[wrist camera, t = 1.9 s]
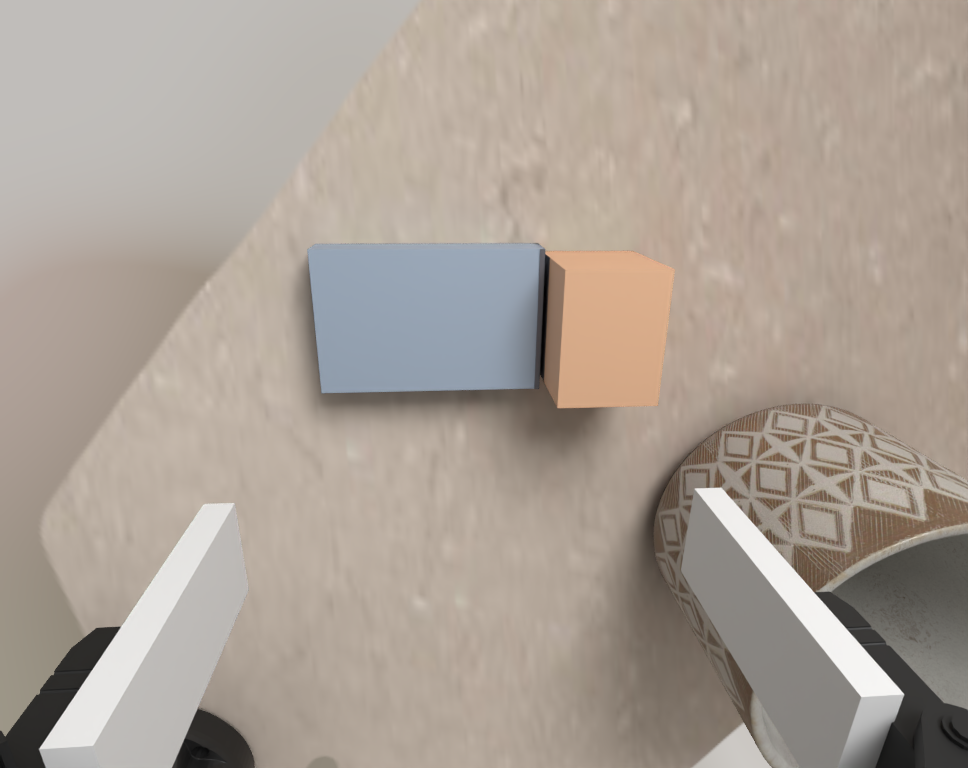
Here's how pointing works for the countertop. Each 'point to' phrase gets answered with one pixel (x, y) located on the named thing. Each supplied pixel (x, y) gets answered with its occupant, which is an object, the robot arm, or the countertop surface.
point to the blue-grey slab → (427, 316)
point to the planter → (835, 539)
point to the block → (604, 328)
